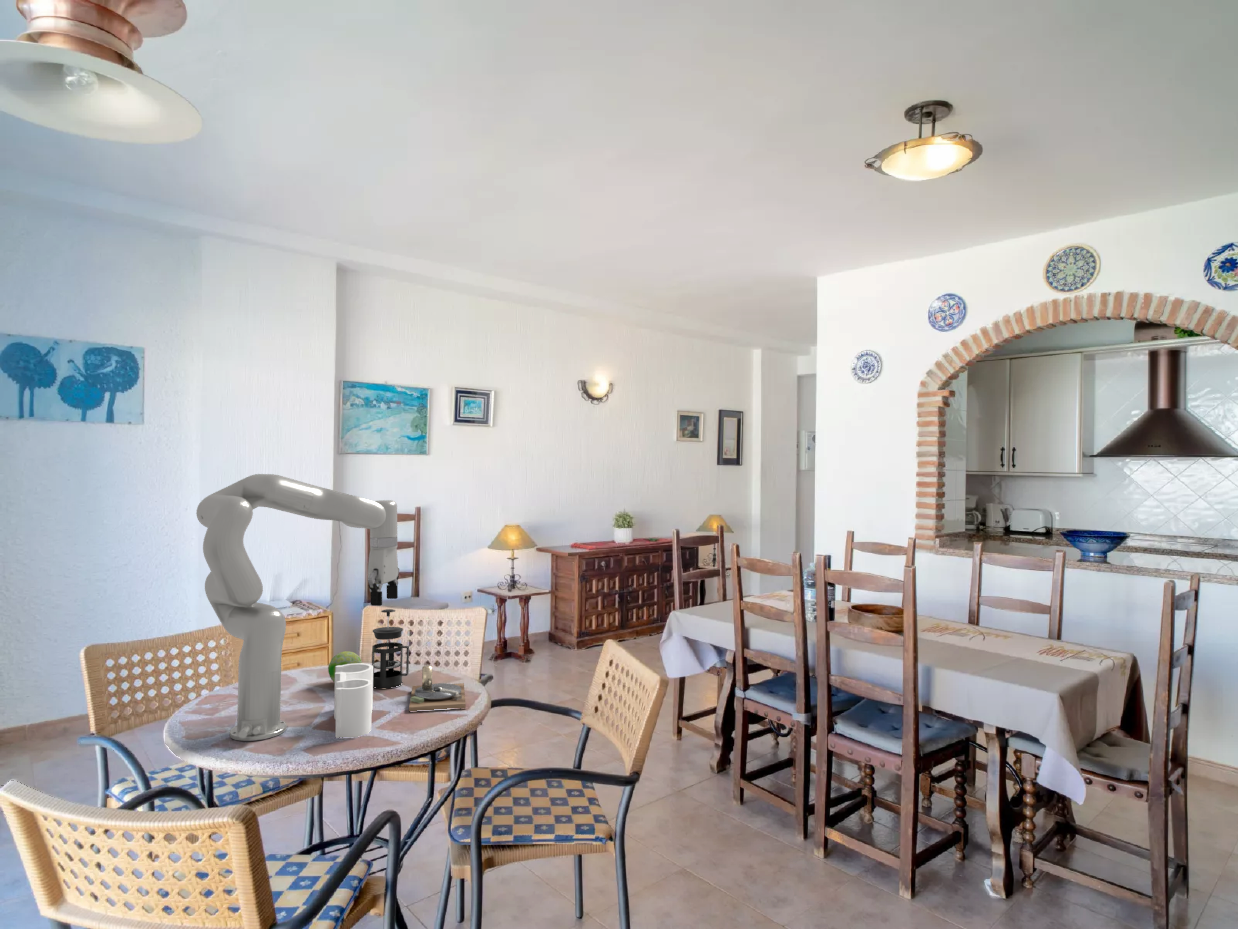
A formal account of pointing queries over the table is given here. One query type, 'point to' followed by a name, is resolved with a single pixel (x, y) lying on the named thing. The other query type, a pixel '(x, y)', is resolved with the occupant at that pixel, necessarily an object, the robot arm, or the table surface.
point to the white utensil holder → (353, 699)
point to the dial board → (437, 701)
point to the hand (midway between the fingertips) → (384, 602)
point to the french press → (388, 656)
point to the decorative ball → (342, 661)
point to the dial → (435, 687)
